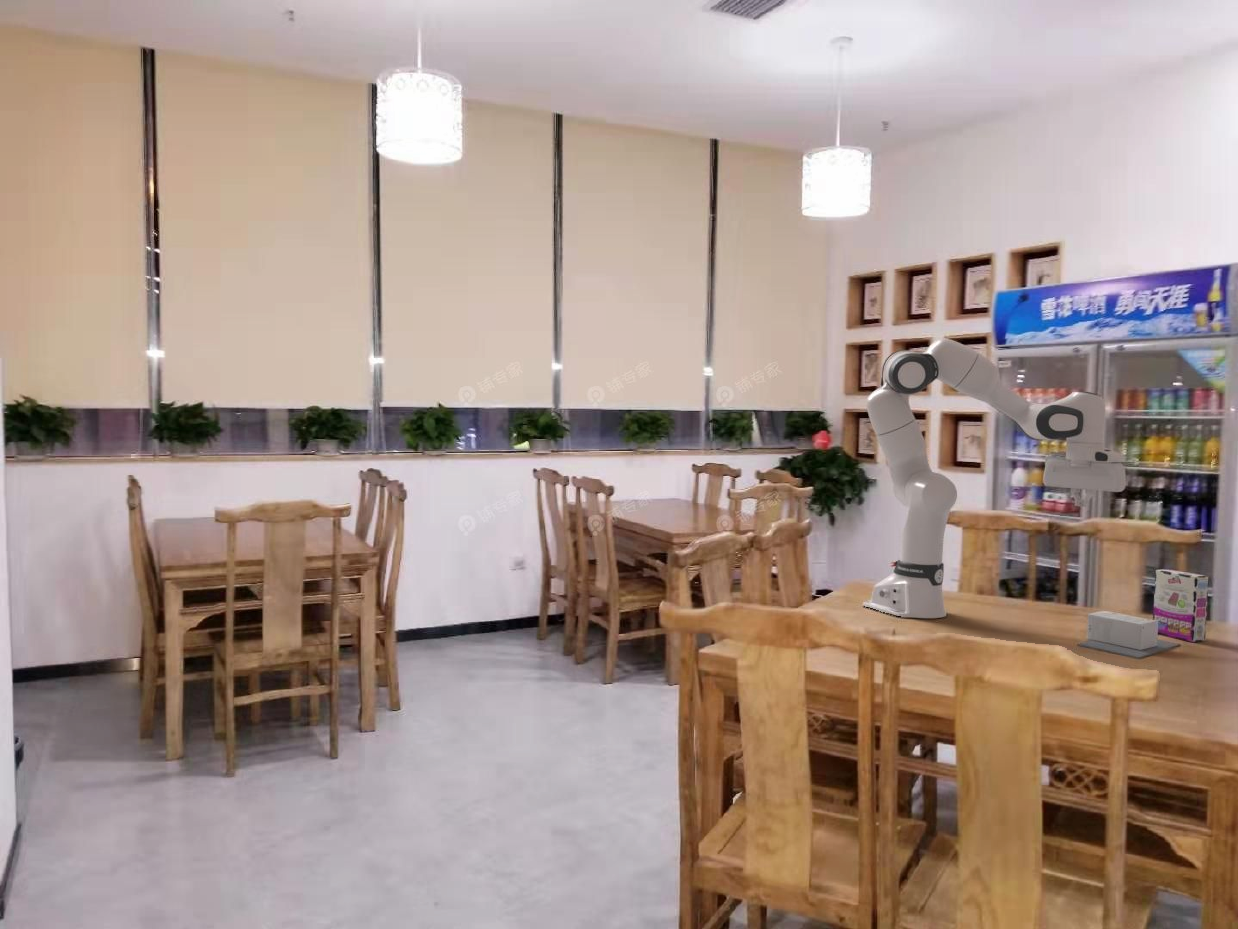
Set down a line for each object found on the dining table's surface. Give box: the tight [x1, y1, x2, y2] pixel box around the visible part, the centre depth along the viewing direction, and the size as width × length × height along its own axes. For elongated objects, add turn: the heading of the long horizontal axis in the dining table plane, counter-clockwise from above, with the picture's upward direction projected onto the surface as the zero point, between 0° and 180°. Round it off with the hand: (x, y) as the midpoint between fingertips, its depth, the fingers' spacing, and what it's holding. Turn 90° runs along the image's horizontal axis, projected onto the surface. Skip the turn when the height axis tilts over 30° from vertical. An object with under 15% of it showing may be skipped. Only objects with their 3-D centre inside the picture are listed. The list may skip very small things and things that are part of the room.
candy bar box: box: [1152, 568, 1210, 643], centre depth 233 cm, size 11×5×16 cm, turn 23°
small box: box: [1086, 610, 1159, 650], centre depth 225 cm, size 8×6×13 cm
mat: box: [1077, 638, 1181, 660], centre depth 224 cm, size 14×22×1 cm, turn 127°
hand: (1081, 506), depth 244 cm, fingers closed
